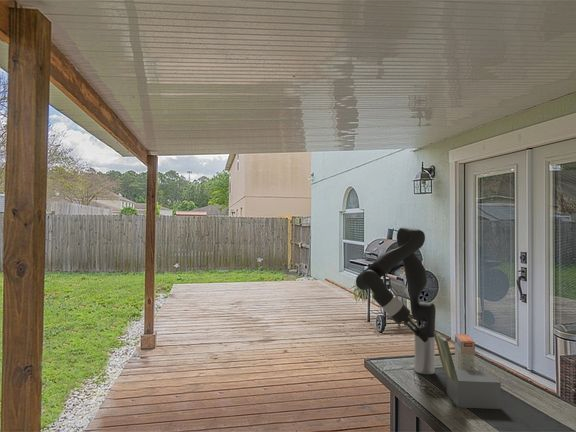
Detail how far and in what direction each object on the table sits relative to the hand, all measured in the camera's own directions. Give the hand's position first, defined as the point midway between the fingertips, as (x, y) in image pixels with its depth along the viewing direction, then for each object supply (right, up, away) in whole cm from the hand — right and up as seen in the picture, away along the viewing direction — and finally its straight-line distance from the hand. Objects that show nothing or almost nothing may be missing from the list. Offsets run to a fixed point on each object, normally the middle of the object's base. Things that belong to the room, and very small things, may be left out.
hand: (426, 340), depth 171 cm
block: (+18, -23, -2) cm, 30 cm away
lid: (+8, -6, -1) cm, 10 cm away
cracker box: (+22, -25, +16) cm, 36 cm away
